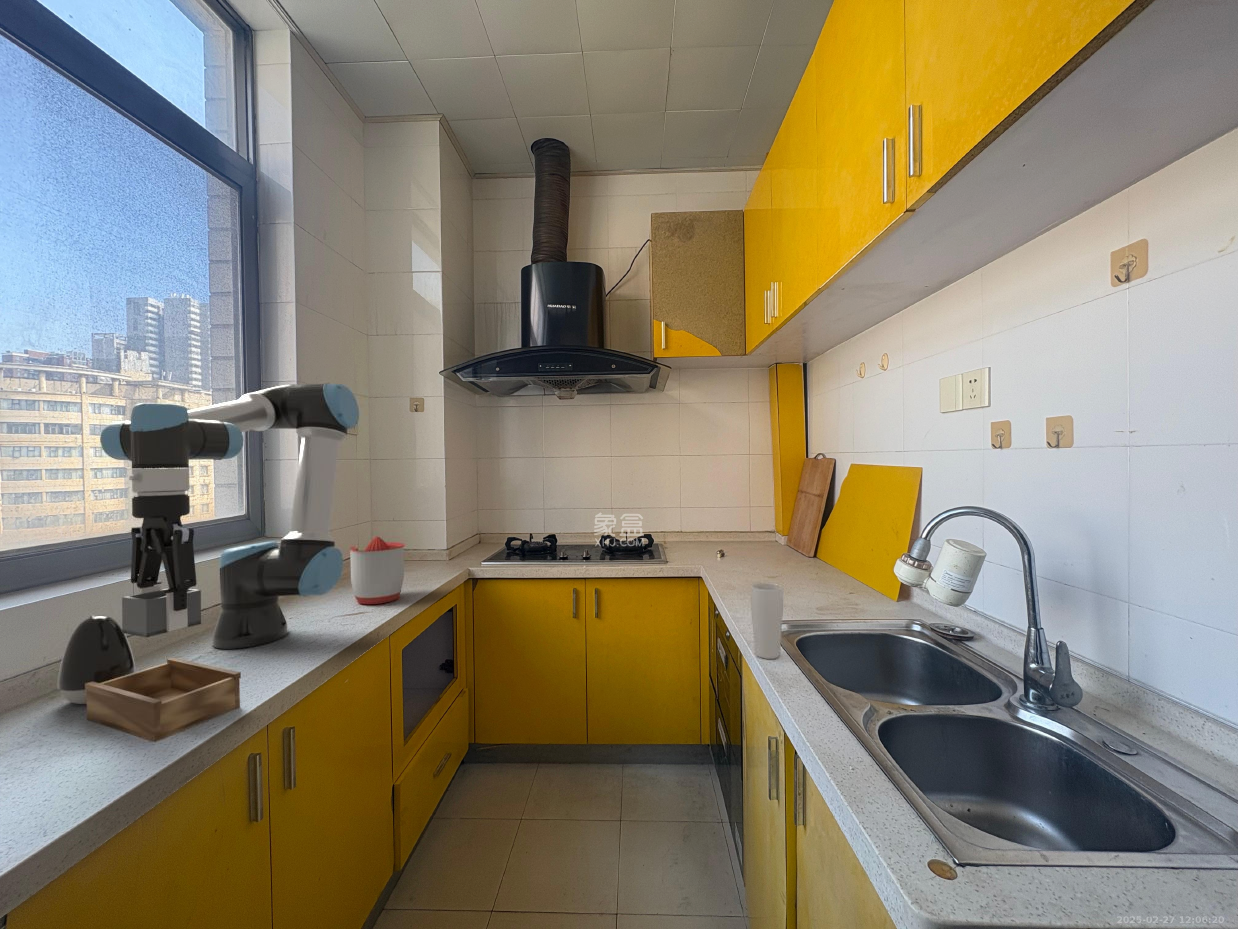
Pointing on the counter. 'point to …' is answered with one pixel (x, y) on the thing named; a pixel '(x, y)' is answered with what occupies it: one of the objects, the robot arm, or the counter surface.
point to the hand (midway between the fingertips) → (163, 626)
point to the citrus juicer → (377, 571)
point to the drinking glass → (767, 618)
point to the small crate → (155, 612)
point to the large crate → (163, 698)
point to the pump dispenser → (94, 657)
